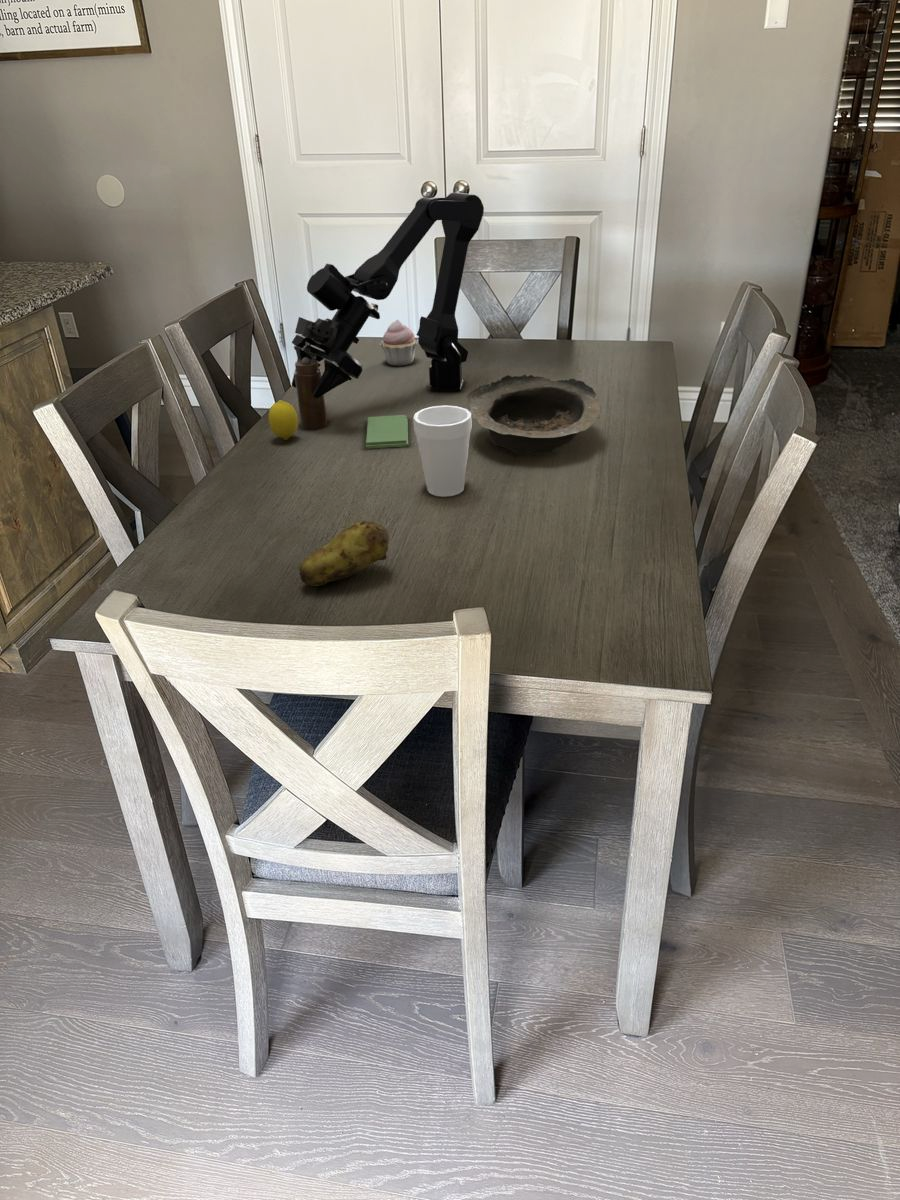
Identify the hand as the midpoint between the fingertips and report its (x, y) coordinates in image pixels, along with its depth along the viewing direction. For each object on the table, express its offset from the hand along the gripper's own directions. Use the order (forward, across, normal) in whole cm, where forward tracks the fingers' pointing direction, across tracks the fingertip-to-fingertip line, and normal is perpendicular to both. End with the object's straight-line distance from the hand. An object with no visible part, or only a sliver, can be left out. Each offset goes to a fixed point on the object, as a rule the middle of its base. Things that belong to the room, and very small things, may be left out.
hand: (303, 391), depth 171 cm
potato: (+23, +56, -12) cm, 62 cm away
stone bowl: (-15, +36, +26) cm, 47 cm away
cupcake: (-21, -23, +32) cm, 44 cm away
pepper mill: (+4, 0, +6) cm, 7 cm away
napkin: (-2, +14, +12) cm, 19 cm away
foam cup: (+3, +42, +8) cm, 43 cm away
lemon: (+10, +3, 0) cm, 11 cm away
